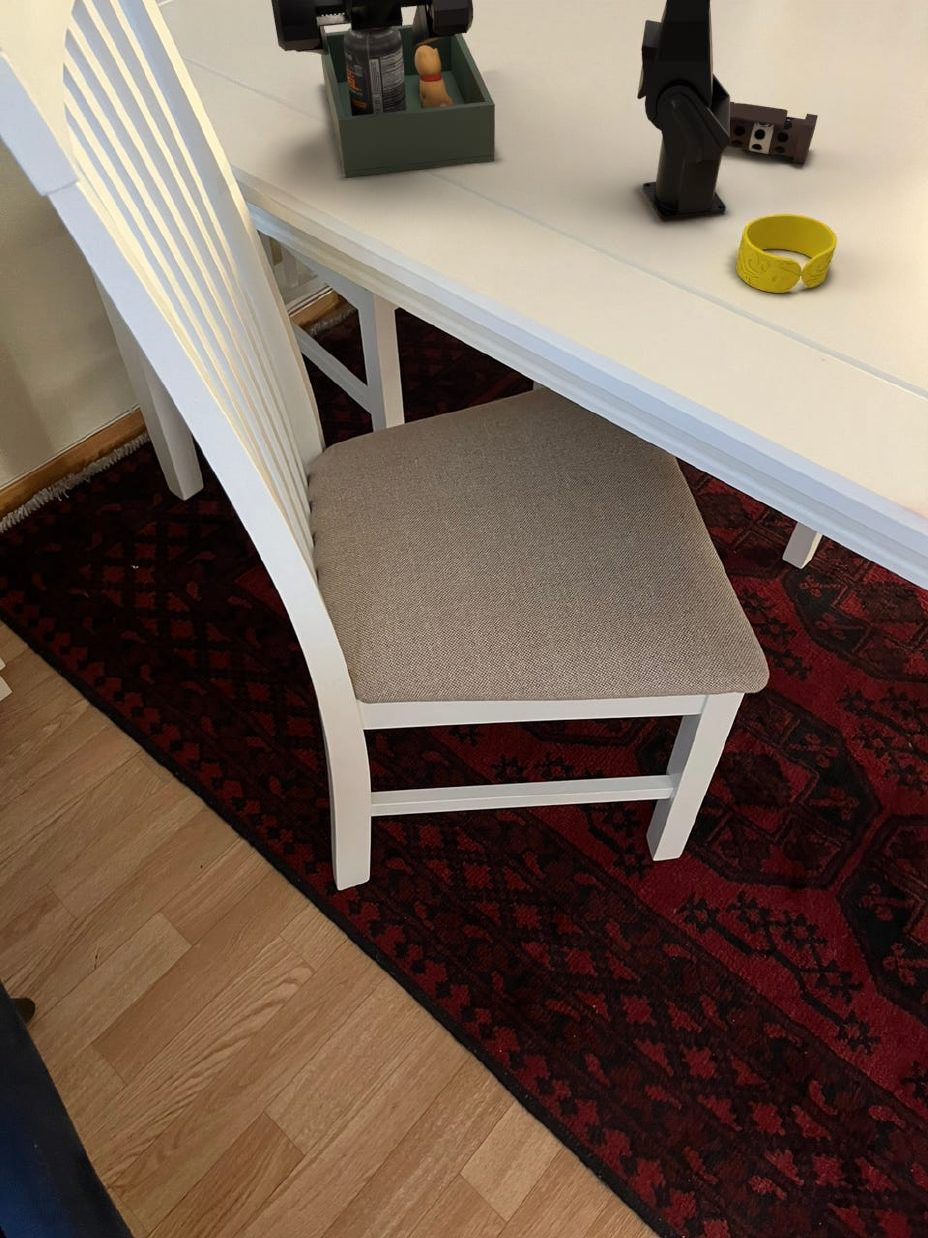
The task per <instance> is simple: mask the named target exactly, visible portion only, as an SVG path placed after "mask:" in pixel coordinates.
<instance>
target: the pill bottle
mask: <svg viewBox="0 0 928 1238" xmlns="http://www.w3.org/2000/svg"><path fill="white" fill-rule="evenodd" d="M346 31H347V32H346V33H345V36H344V50H345V60H346V68H347V77H348V86H349V94H350V104H351V113H352V116H359V115H368V114H377V113H387V112H396V111H405V110H406V94H405V79H404V64H403V53H402V38H401V34H400V32H399V30H398V29H397V28H396V27H395V26H394V27H384V28H374V29H364V30H353V31H352V30H351V27H349V28H348V29H347V30H346Z"/></svg>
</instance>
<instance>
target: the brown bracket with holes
mask: <svg viewBox="0 0 928 1238" xmlns="http://www.w3.org/2000/svg"><path fill="white" fill-rule="evenodd" d="M788 112H789V110H787V109H784V108H778V107H772V106H764V105H759V104H752V103H751V104H750V103H741V102H735V101H730V140H729V143H728V144H727V146H726V147H731V148H737V149H742V150H748V151H749V152H756V153H762V154H767V155H769V154H773V155H780V156H786V157H793V162H792V163H795V164H802V165H804V164H805V162H806V159H807V156H808V154H809V150H810V147H811V144H812V140H813V137H814V133H815V130H816V125H817V121H818V117H819V116H818V115H819V114H813V113H806V115H805V118H799V117H793V116H788Z"/></svg>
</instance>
